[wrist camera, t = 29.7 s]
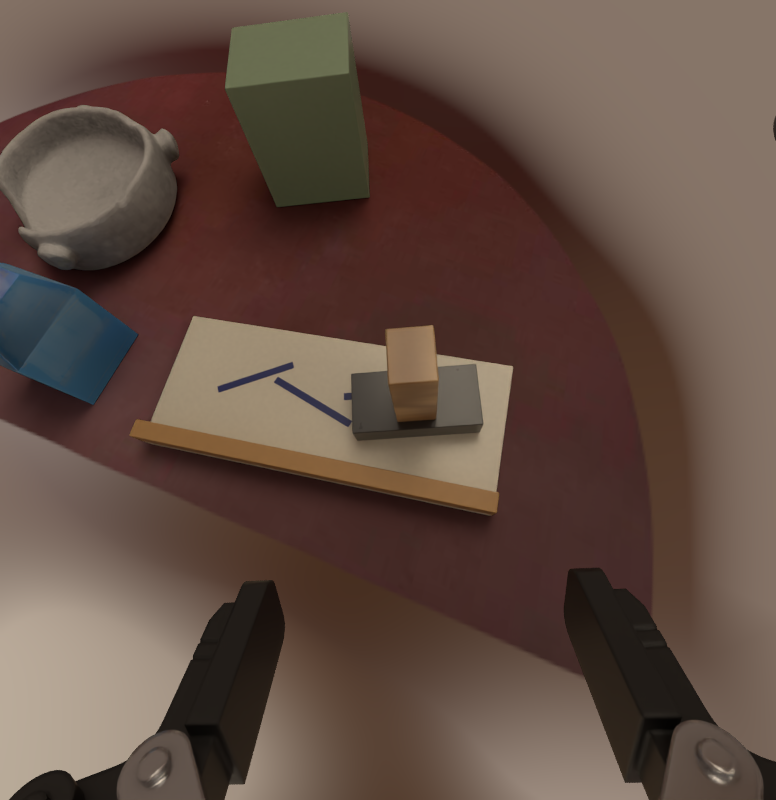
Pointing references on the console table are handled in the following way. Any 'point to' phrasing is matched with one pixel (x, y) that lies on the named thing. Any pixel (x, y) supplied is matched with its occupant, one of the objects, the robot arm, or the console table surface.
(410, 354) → the eraser
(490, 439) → the board
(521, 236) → the console table surface
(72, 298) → the perfume bottle
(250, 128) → the block
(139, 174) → the dish
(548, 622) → the console table surface
